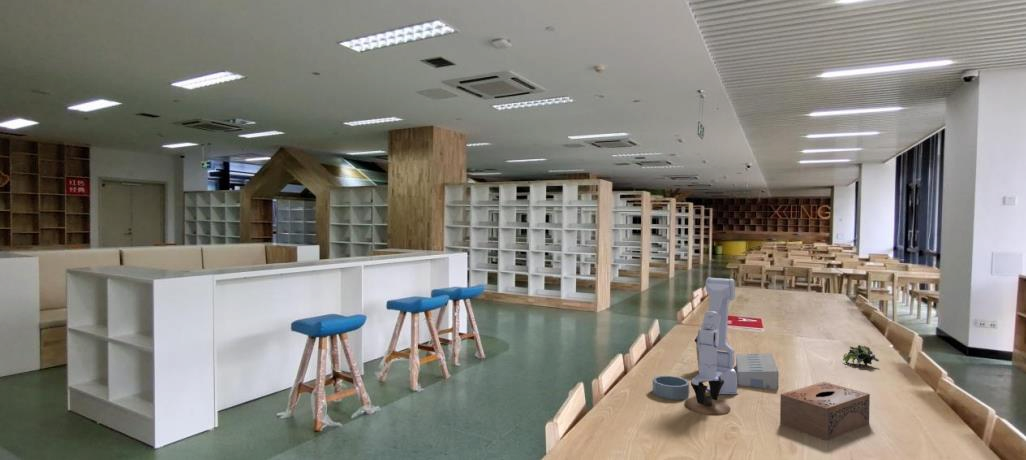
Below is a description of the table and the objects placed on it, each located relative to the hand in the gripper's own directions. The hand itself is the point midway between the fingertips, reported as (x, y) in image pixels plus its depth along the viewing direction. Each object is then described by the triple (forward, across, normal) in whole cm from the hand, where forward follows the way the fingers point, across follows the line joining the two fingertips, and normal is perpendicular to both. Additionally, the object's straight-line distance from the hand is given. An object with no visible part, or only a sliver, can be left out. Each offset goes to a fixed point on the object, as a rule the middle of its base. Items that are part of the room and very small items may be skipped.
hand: (707, 401), depth 177 cm
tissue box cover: (+2, +20, -30) cm, 36 cm away
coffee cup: (+2, +37, +27) cm, 46 cm away
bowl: (+2, 0, +16) cm, 16 cm away
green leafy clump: (+2, +106, -5) cm, 106 cm away
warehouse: (+2, +48, +11) cm, 50 cm away
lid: (+2, 0, 0) cm, 2 cm away
